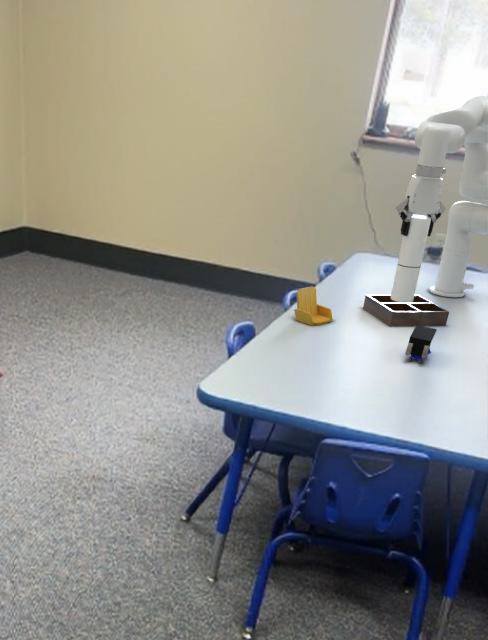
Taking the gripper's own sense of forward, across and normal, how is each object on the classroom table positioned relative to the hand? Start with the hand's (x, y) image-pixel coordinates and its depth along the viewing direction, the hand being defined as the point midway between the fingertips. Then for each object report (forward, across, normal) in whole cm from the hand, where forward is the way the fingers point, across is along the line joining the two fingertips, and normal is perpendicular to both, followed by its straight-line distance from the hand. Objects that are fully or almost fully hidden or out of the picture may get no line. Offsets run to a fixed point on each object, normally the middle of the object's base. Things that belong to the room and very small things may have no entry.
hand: (415, 234), depth 247 cm
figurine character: (+27, +11, +34) cm, 45 cm away
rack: (+27, -5, -5) cm, 28 cm away
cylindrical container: (+20, 0, 0) cm, 20 cm away
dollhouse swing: (+27, +29, -2) cm, 40 cm away
